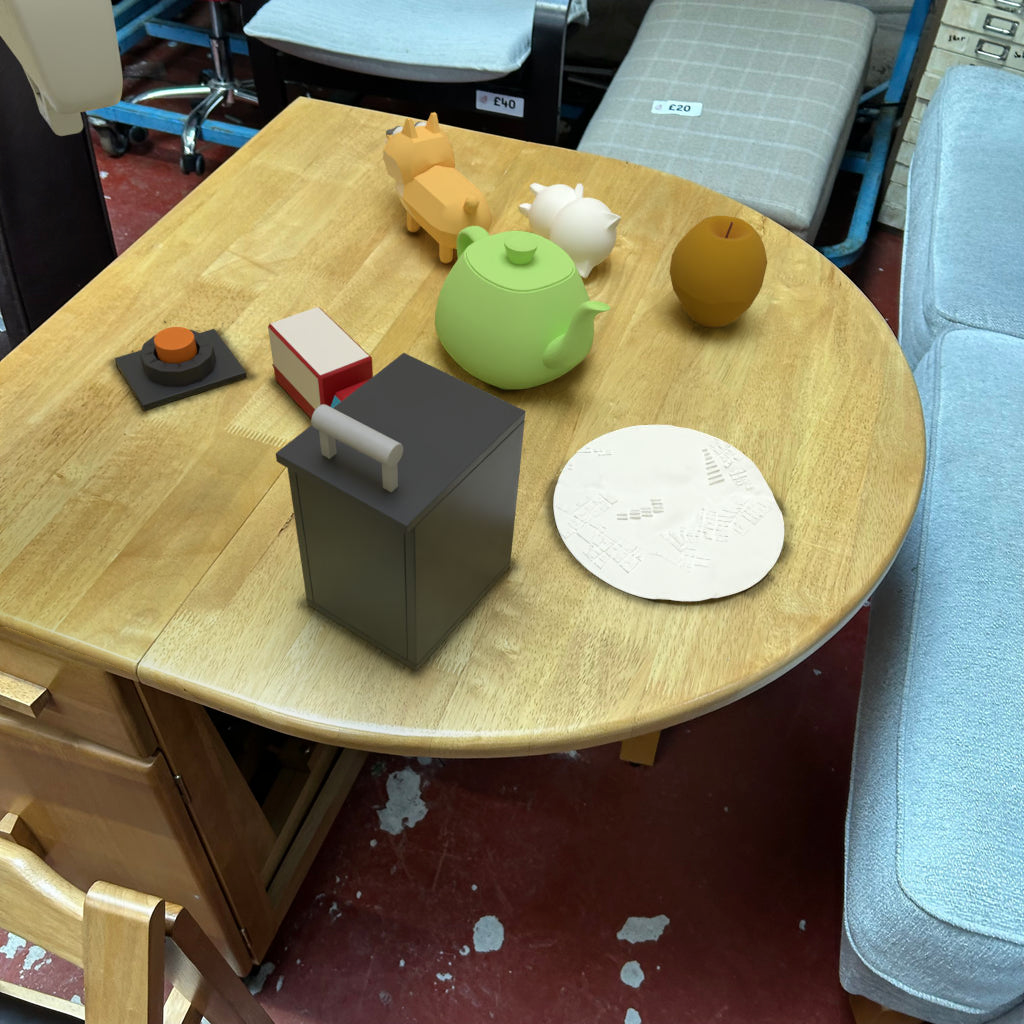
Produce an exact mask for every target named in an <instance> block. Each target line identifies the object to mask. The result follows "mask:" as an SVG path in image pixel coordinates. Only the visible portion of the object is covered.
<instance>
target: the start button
mask: <svg viewBox="0 0 1024 1024" xmlns="http://www.w3.org/2000/svg"><path fill="white" fill-rule="evenodd" d="M190 330H191V329H190V328H187V327H183V326H170V327H165V328H164V329H161V330H160V331H158V332H157V333H156V334H155V335H156V336H155V335H154V336H155V338H154V343H155V347H156V351H157V355H158V358H159V359H160V360H161V361H162V362H165V363H182V362H185V361H189V360H191V359H192V358H194V357H195V356H196V354H197V347H196V343H195V338H194V334H193V333H192V331H190Z"/></svg>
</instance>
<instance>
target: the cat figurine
mask: <svg viewBox="0 0 1024 1024" xmlns="http://www.w3.org/2000/svg"><path fill="white" fill-rule="evenodd" d="M584 190H585V187H584V184H583V183H579V182H577V184H576V185H575V188H573V187H571V186H569V185H567V184H562V183H557V184H552V185H549V186H545V185H542V184H541V183H538V182H533V183H532V184H530V185H529V191H530V192H531V194H532V195H533V196H534V200H533V202H532V203H530V202H529V203H528V202H524V203H521V204H519V205H518V211H519V213H520V214H521V215H523V217H525V218H526V219H527V220H528V225H529V229H530V230H531V233H533V234H537V235H539V236H542V237H544V238H546V239H548V240H550V241H552V242H553V243H555V244H556V245H558V246H559V247H560V248H562V249H563V250H564V251H565V252H566V253H567V254H568V255H569V256H570V258H571V259H572V261H573V262H574V264H575V266H576V268H577V269H578V272H579V274H580V276H581V278H582V279H587V278H588V277H589V276H590V274H591V272H592V271H593V269H594V268H595V267H596V266H598V265H600V264H601V263H602V262H604V261H605V260H606V259H607V258H608V257H609V256H610V254H612V252H613V250H614V248H615V245H616V241H617V237H618V235H617V233H618V231H617V227H618V225H619V224H620V222H621V220H622V217H621V216H620V215H619V214H616V213H613V212H612V210H611V209H610V208H609V207H608V206H607V205H606V203H604V202H603V201H601V200H599V199H597V198H593V197H584Z"/></svg>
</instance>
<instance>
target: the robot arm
mask: <svg viewBox="0 0 1024 1024" xmlns="http://www.w3.org/2000/svg"><path fill="white" fill-rule="evenodd" d="M114 17H115V15H114V10H113V5H112V0H0V37H1V38H2V40H3V41H4V42H5V44H6V46H7V48H9V49H10V51H11V52H12V54H13V55H14V56H15V57H16V59H17V60H18V61H19V63H20V65H21V67H22V69H23V72H24V74H25V75H26V78H27V81H28V83H29V84H30V86H31V89H32V91H33V94H34V97H35V101H36V104H37V107H38V111H39V113H40V114H41V116H42V118H43V119H44V120H45V121H46V123H47V125H49V127H50V128H51V130H52V132H53V133H54V134H55V135H57V136H60V137H63V136H69V135H75V134H79V133H81V132H82V131H83V129H84V122H83V119H82V118H83V117H82V114H81V113H83V112H84V113H85V112H89V111H95V110H99V109H105V108H109V107H113V106H116V105H118V104H119V103H120V101H121V99H122V96H123V95H122V94H123V83H124V80H123V68H122V62H121V61H122V60H121V53H120V48H119V41H118V35H117V29H116V23H115V18H114Z"/></svg>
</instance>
